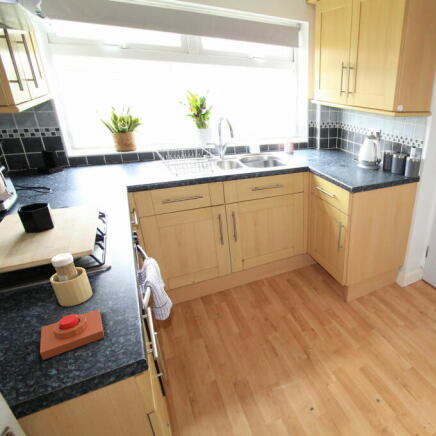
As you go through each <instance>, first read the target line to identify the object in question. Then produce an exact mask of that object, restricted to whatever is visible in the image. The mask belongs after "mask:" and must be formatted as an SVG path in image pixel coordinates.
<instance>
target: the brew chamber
mask: <svg viewBox="0 0 436 436" xmlns="http://www.w3.org/2000/svg"><path fill="white" fill-rule="evenodd" d="M75 268H76V270H77V273H78V277H77V278H75V279H72V280H69V281H65V282H60V281H59V278H58V276H57V272H55V273H54V274H53V275H51V277H50V278H49V281H50V285H51V286H52V289H53V291H54V294H55V297H56V300H57V302H58V304H59V305H60V306H62V307H73V306H77V305H80V304H82V303H84V302H86V301H88V300H89V299H90V298H91V297H92V296H93V289H92V286H91V283H90V280H89V277H88V273H87V271H86V269H85V268H84V267H81V266H75Z"/></svg>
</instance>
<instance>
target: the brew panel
mask: <svg viewBox="0 0 436 436" xmlns="http://www.w3.org/2000/svg"><path fill="white" fill-rule="evenodd" d="M76 315H77V318H78V320H79V323H78V325H76V326H75V327H73V328H70V329H67V330H63V329H61V327H60V325H59V321H57V322H54V323H50V324H48V325H45V326H42V327H41V330H40V344H39V345H40V346H39V348H40V350H39V354H40V356H41V359H42V360H43V361H44V360H47V359H49V358H53V357H55V356H59V355H61V354H63V353H66V352H68V351H71V350H74V349H76V348H79V347H82V346H85V345H88V344H90V343H93V342H96V341H98V340H101V339H104V338H105V332H104V326H103V321H102V320H103V319H102V315H101V311H100V309H99V308H97V309H94V310H91V311H88V312H85V313H82V314H76Z"/></svg>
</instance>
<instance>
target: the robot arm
mask: <svg viewBox="0 0 436 436" xmlns="http://www.w3.org/2000/svg"><path fill="white" fill-rule="evenodd" d="M12 195H13V194H12V192H11V191H10V190H9V189H8V183H7V181H6V179H5V176H4V175H3V173H2V169H0V202H1V201H4V200H7V199H10V198H11V197H12Z"/></svg>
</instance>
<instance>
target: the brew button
mask: <svg viewBox="0 0 436 436" xmlns="http://www.w3.org/2000/svg"><path fill="white" fill-rule="evenodd" d="M77 315H78V314H74V313H72V314H67V315H65V316H63V317H62V318H60V320H58V322H59V325H60V327H61V329H63V330H67V329H70V328H73V327H75V326H76V325H78V323H79V320H78V318H77Z"/></svg>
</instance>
